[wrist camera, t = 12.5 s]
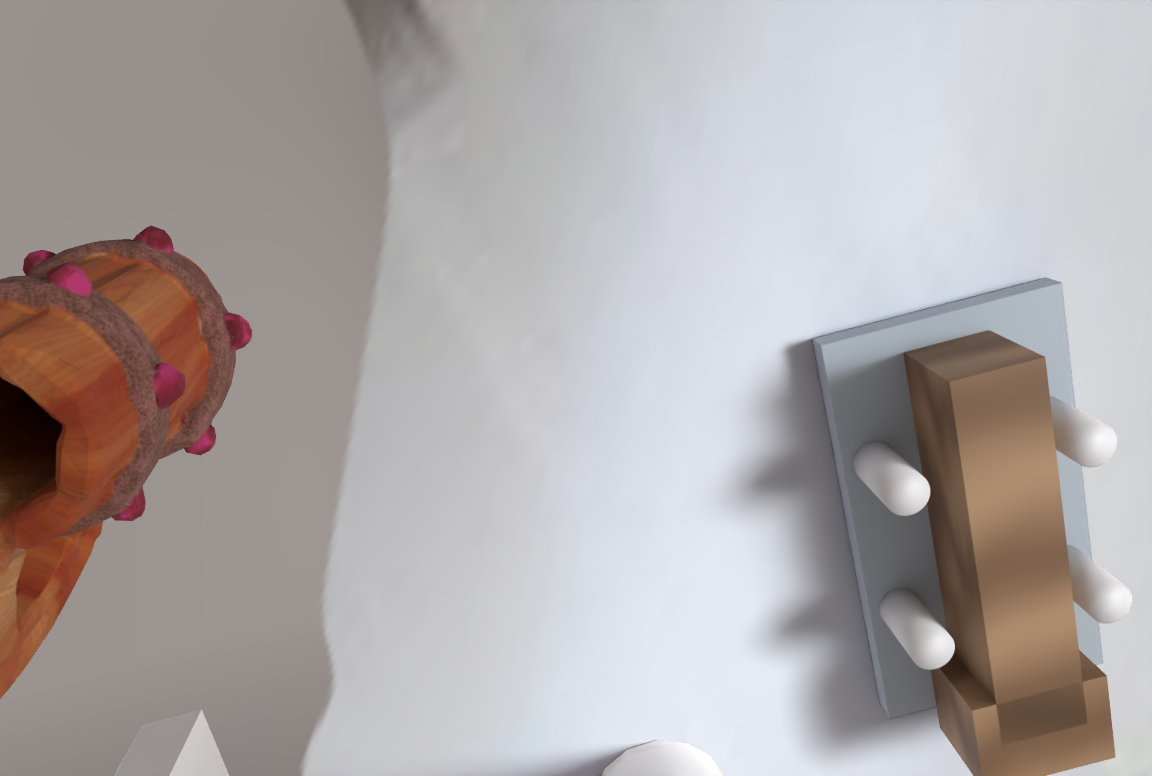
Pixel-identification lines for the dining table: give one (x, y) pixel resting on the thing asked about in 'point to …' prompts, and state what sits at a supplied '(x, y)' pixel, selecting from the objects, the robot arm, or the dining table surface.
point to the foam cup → (663, 761)
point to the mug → (95, 408)
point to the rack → (900, 492)
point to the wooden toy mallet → (1003, 563)
